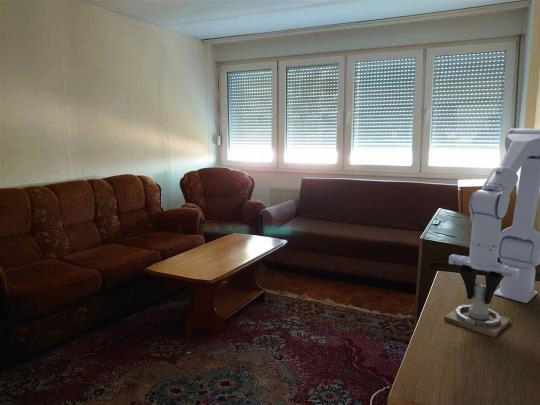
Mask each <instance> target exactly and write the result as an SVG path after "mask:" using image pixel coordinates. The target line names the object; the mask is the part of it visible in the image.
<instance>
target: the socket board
mask: <svg viewBox="0 0 540 405" xmlns="http://www.w3.org/2000/svg"><path fill="white" fill-rule="evenodd" d="M471 305H472V304H464V303H461V304H460V305H458V306H457V307H456V308H454V309H453V310H452V311H450V312H448V314H446V315H445V316H444V317H443V318H444V319H443V320H444V321H445V322H448V323H449V324H450V323H451V324H454V325H456V326H460V327H463V328H464V329H465V328H466V329H469V330H471V331H474V332H477V333H480V334H483V335H486V336H487V337H488V336H489V337H492V338H496V337H497V336H498V334H500V333H501V332H502V331H503V330H504V329H505V328H506V327H507V326H508V325H509V324H510V323H511V319H512V318H511V317H507V316H504V315H501V314H499V313H498V312H497V311H495V310H493V309H491V308H488V310H489V314H488V315H489V318H488V319H486V320H477V319H474V318H472V317H470V315H469V314H468V312H469V307H470V306H471Z"/></svg>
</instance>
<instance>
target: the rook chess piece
mask: <svg viewBox="0 0 540 405" xmlns="http://www.w3.org/2000/svg"><path fill="white" fill-rule="evenodd" d="M474 289H475V292H474V297H473V302H472V303H471V304H470V305H471V306H470V307H469V312H468V314H469V315H470V317H472V318H474V319H477V320H486V319H488V318H489V315H488V314H489V310H488V306H487V304H485V303H484V300H485V293H486V282H483V281H482V282H481V281H478V282H476V281H475V286H474Z"/></svg>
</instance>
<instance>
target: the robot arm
mask: <svg viewBox="0 0 540 405" xmlns="http://www.w3.org/2000/svg"><path fill="white" fill-rule="evenodd" d="M504 148H505V151H506V153H505V154H504V158H503V159H502V162H501V164H500V166H496V167H495V168H493V169H492V170H491V172H490V173H489V176H487V178H486V180H485V182H484V183H483V186H482V187H481V189H478V190H477V191H476V190H475V191H474V192H473V193H472V194H471V196H470V199H469V203H468V210H469V213H470V215H469V216H470V218H469V221H470V222H471V223H472V224H471V234H470V245H469V256H466V255H458V254H453V253H452V254H451V255H448V265H449V264H450V265H457V266H461V268H459V274H460V276H461V279H462V281H463V283H464V286H465V290H466V297H467V300H472V299H474V297H475V294H474V292H475V289H474V286H475V284H476V280H477V276H478V272H479V271H481V272H482V271H483V272H486V273H488V274H487V275H485V276H484V279H485V284H486V293H485V300H484V303H485V304H486V305H489V304H490V303H492V299H493V296H494V295H495V296H497V297H498V296H499V297H501V298H506V299H509V300H514V301H517V302H521V303H525V304H527V303H528V302H530V301H531V300H532V299H533V298H535V296H536V295H537V294H538V291H537V290H534V287H535V279H536V268H535V267H537V266H538V265H540V232H538V231H537V229H535V227H534V226H535V220H536V214H537V208H538V202H539V195H540V128H515V127H512V128H510V129H509V130H507V132H506V135H505V138H504ZM519 170H520V175H519V176H518V174H517V173H518V171H519ZM517 184H518V186H517V187H518V188H517V193H516V199H515V205H514V212H513V218H512V223H511V226H509V227H506V228H505V229H502V219H503V218H504V217H505V216H506V215H507V213H508V207H509V204H510V202H511V198H510V197H511V194H512V192H513V190H514V188H515V187H516V185H517ZM498 259H500V260H499V262H498ZM501 262H502V263H501ZM498 286H499V288H498ZM497 288H498V289H497Z"/></svg>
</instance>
